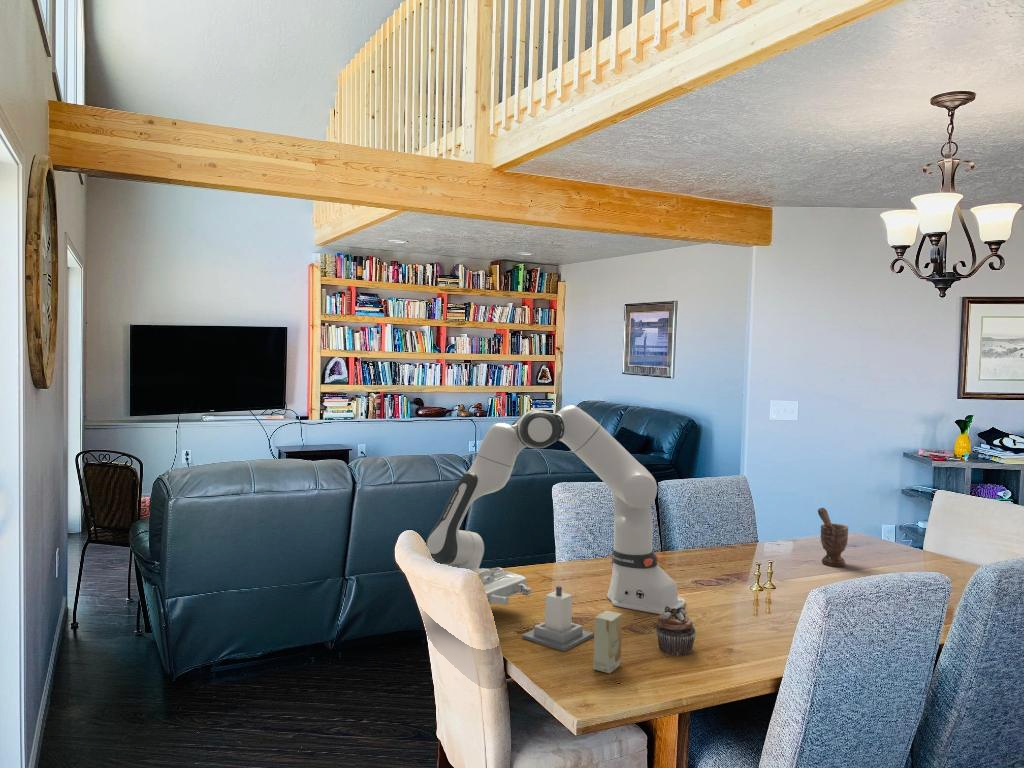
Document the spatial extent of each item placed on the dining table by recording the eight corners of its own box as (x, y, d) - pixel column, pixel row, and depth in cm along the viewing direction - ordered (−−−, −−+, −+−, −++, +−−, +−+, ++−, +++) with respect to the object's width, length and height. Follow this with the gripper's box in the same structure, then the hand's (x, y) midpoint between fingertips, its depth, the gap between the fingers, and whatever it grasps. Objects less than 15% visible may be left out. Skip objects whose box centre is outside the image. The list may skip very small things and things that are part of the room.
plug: (571, 633, 194) (572, 587, 193) (560, 638, 191) (561, 591, 190) (555, 628, 197) (556, 582, 197) (544, 633, 194) (545, 587, 193)
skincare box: (609, 674, 173) (611, 621, 172) (592, 669, 175) (593, 617, 174) (621, 664, 178) (622, 613, 178) (604, 660, 181) (605, 609, 180)
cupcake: (658, 656, 183) (659, 615, 183) (653, 640, 193) (654, 601, 192) (699, 657, 183) (700, 616, 182) (691, 641, 192) (692, 602, 192)
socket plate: (593, 636, 195) (594, 625, 195) (564, 651, 185) (564, 640, 185) (552, 623, 203) (552, 612, 203) (522, 637, 193) (522, 626, 193)
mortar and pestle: (838, 571, 253) (840, 511, 251) (812, 566, 258) (814, 507, 257) (850, 564, 261) (852, 506, 260) (824, 558, 267) (826, 502, 266)
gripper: (453, 583, 202) (492, 594, 194) (503, 565, 218) (541, 576, 209) (452, 606, 203) (492, 619, 194) (502, 587, 219) (541, 598, 210)
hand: (518, 596), depth 202 cm, fingers open, 8 cm apart
